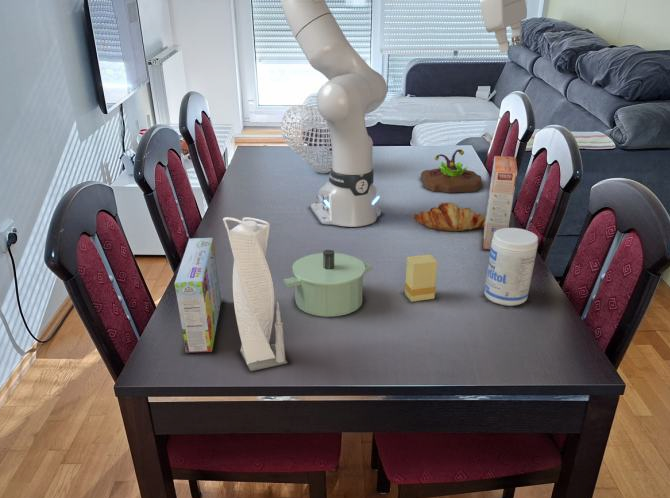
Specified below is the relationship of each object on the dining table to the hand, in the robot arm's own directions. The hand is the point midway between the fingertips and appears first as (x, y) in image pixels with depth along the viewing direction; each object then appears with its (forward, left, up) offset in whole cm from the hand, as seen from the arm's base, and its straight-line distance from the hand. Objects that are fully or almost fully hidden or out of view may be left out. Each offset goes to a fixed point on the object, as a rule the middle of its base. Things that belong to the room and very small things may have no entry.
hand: (511, 48), depth 141 cm
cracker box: (-5, +7, -48) cm, 49 cm away
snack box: (+5, -75, -48) cm, 90 cm away
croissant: (-18, +2, -48) cm, 52 cm away
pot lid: (+7, -48, -40) cm, 63 cm away
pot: (+7, -48, -48) cm, 68 cm away
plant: (-51, +26, -48) cm, 75 cm away
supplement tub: (+23, -12, -48) cm, 54 cm away
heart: (-80, -8, -48) cm, 94 cm away
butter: (+14, -29, -48) cm, 57 cm away
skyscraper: (+22, -70, -48) cm, 87 cm away
